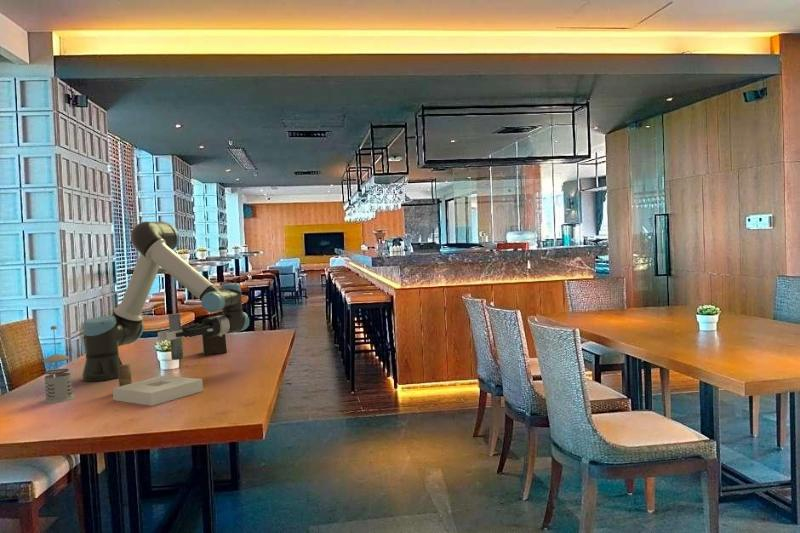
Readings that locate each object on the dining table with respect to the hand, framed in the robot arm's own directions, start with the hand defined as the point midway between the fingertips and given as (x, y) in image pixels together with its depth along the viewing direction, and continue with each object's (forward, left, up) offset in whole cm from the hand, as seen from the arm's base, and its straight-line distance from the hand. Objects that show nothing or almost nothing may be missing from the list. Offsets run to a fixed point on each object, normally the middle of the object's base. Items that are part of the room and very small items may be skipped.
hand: (163, 336), depth 226 cm
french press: (-23, -26, -18) cm, 39 cm away
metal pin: (0, +5, -9) cm, 10 cm away
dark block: (-38, +58, -18) cm, 72 cm away
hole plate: (+9, -10, -18) cm, 22 cm away
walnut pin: (-9, -10, -18) cm, 22 cm away
